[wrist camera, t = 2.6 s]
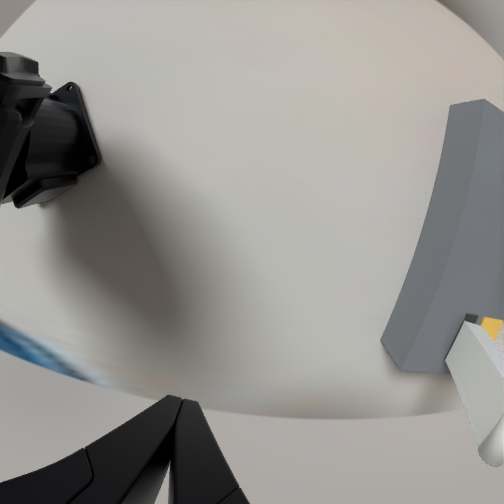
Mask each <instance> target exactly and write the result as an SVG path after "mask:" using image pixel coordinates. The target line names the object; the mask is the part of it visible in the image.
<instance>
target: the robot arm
mask: <svg viewBox="0 0 504 504" xmlns="http://www.w3.org/2000/svg"><path fill="white" fill-rule="evenodd" d="M39 76H40V75H39V72H38V62H37V61H35V60H33V59H31V58H28V57H25V56H22V55H19V54H16V53H12V52H0V206H1V204H4V203H8V202H12V201H13V203H14V206H15V207H16V208H18V209H20V208H23V207H26V206H30V205H33V204H37V203H41V202H44V201H48V200H52V199H54V198H55V197H57V196H58V195H60V194H62V193H63V192H65V191H66V190H68V189H70V188H71V187H73V186H75V185H76V184H77V182H78V177H80V176H82V175H83V174H85V173H87V172H88V171H90V170H92V169H94V168H95V167H97V166H98V165H99V164H100V162H101V156H100V153H99V150H98V147H97V145H96V142H95V139H94V136H93V133H92V130H91V127H90V124H89V121H88V118H87V115H86V112H85V108H84V105H83V102H82V99H81V95H80V92H79V89H78V86H77V84H76V83H74V82H68V83H67V84H65V85H64V86H62V87H61V88H59V89H58V90H56V91H55V92H54V93H50V91H51V89H52V87H51V86H49V85H47V84H46V83H45V80H43V79H42V78H41V77H39ZM70 87H72V90H71V91H70V92H69V89H70ZM93 156H94V157H95V162H94V163H92V161H91V159H92V157H93ZM170 461H171V462H170ZM169 465H170V472H169V473H170V474H169V497H168V504H250V503H249V502H248V500H247V498H246V496H245V495H244V493H243V491H242V489H241V488H239V484H238V483H237V481H236V479H235V477H234V475H233V473H232V471H231V469H230V467H229V465H228V464H227V462H226V460H225V458H224V456H223V454H222V452H221V450H220V448H219V446H218V444H217V441H216V439H215V437H214V435H213V433H212V431H211V429H210V427H209V425H208V423H207V420H206V418H205V416H204V414H203V412H202V409H201V407H200V405H199V403H198V402H197V401H193V400H189V399H184V400H183V401H182V398H180V397H176V396H172V395H167V396H165V397H164V398H162V399H161V400H159V401H158V402H156V403H155V404H153V405H152V406H150V407H149V408H147V409H146V410H144V411H143V412H141V413H139V414H138V415H136V416H135V417H133V418H132V419H130V420H129V421H127V422H125V423H124V424H122V425H121V426H119V427H117V428H116V429H114V430H112V431H111V432H109V433H108V434H106V435H104V436H103V437H101V438H99V439H98V440H96V441H94V442H93V443H91V444H89V445H88V446H86V447H85V449H84V448H82V449H80V450H78V451H76V452H75V453H73V454H71V455H69V456H67V457H65V458H63V459H61V460H59V461H57V462H56V463H53V464H51V465H48V466H46V467H44V468H41V469H39V470H36V471H34V472H31V473H28V474H25V475H22V476H19V477H16V478H13V479H10V480H7V481H4V482H1V483H0V504H154V503H155V500H156V498H157V495H158V493H159V490H160V488H161V485H162V483H163V480H164V478H165V475H166V473H167V470H168V467H169Z"/></svg>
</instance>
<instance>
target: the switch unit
mask: <svg viewBox="0 0 504 504" xmlns="http://www.w3.org/2000/svg"><path fill="white" fill-rule="evenodd" d="M464 321H467V322H470V323H473V324H476V325H480V326H482V327H483V328H484V329H485V330H486V332H487V333H488V334H489V335H490V337H491V338H492V339H493V341H494V340H495V338H496V336H497V334H498V332H499V330H500V328H501V326H502V323H503V321H504V112H503V111H501V110H500V109H498V108H497V107H496V106H494V105H493V104H491V103H490V102H488V101H487V100H485V99H481V100H475V101H470V102H464V103H459V104H454V105H450V110H449V116H448V122H447V128H446V134H445V139H444V144H443V149H442V154H441V159H440V164H439V168H438V172H437V177H436V181H435V185H434V189H433V193H432V197H431V200H430V204H429V208H428V211H427V215H426V218H425V222H424V225H423V228H422V232H421V235H420V238H419V241H418V244H417V247H416V250H415V253H414V256H413V259H412V262H411V265H410V268H409V271H408V274H407V276H406V279H405V282H404V284H403V287H402V290H401V292H400V295H399V297H398V300H397V302H396V305H395V307H394V310H393V312H392V315H391V317H390V320H389V322H388V324H387V327H386V329H385V331H384V333H383V336H382V338H381V340H380V341H381V342H382V344H383V345H384V347H385V348H386V350H387V351H388V353H389V354H390V356H391V358H392V359H393V361H394V362H395V364H396V365H397V367H398V369H399V370H400V371H407V372H423V373H443V374H451V372H450V370H449V368H448V365H447V363H446V361H445V359H446V357H447V355H448V353H449V352H450V350H451V348H452V346H453V344H454V342H455V340H456V338H457V336H458V334H459V331H460V329H461V327H462V325H463V323H464Z"/></svg>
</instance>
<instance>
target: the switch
mask: <svg viewBox="0 0 504 504" xmlns="http://www.w3.org/2000/svg"><path fill="white" fill-rule="evenodd" d="M445 361H446V363H447V365H448V368H449V370H450V372H451V375H452V377H453V380H454V382H455V384H456V387H457V389H458V392H459V394H460V397H461V400H462V402H463V405H464V407H465V410H466V413H467V415H468V418H469V421H470V424H471V427H472V430H473V432H474V436H475V438H476V441H477V445H478V452H479V455H480V457H481V458H482V460H483V461H484V462H485V463H487V464H489V465H490V466H493V467H498V466H501V465H502V464H503V463H504V354H503V353H502V351H501V350H500V349H499V347H498V346H497V345H496V343H495V342H494V341H493V339H492V338H491V337H490V335H489V334H488V333H487V332H486V330H485V329H484V328H483V327H482V326H480V325H476V324H473V323H470V322H467V321H464V323H463V325H462V327H461V329H460V331H459V334H458V336H457V338H456V340H455V342H454V344H453V346H452V348H451V350H450V352H449V353H448V355H447V357H446V359H445Z"/></svg>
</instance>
